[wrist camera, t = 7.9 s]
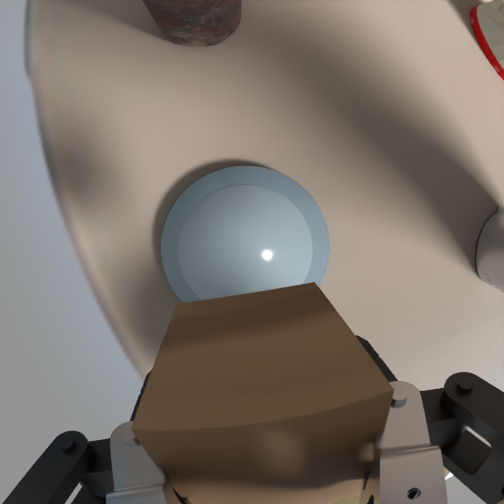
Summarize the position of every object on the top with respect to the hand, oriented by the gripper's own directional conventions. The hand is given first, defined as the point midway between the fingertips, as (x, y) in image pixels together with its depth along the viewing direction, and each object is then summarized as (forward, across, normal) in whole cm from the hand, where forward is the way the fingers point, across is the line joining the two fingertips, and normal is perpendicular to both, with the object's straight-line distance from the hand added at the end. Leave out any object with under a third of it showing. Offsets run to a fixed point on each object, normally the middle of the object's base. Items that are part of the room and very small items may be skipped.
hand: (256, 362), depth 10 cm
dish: (+15, 0, 0) cm, 15 cm away
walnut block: (+1, 0, 0) cm, 1 cm away
